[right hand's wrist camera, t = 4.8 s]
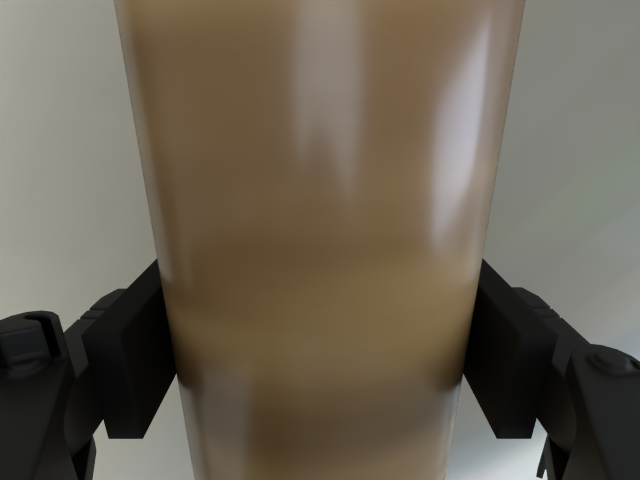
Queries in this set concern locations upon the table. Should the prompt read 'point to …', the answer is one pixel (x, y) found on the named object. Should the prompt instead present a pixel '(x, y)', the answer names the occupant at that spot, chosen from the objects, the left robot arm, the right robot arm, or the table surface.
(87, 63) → the table surface
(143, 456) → the table surface
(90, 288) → the table surface
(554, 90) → the table surface
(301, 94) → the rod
